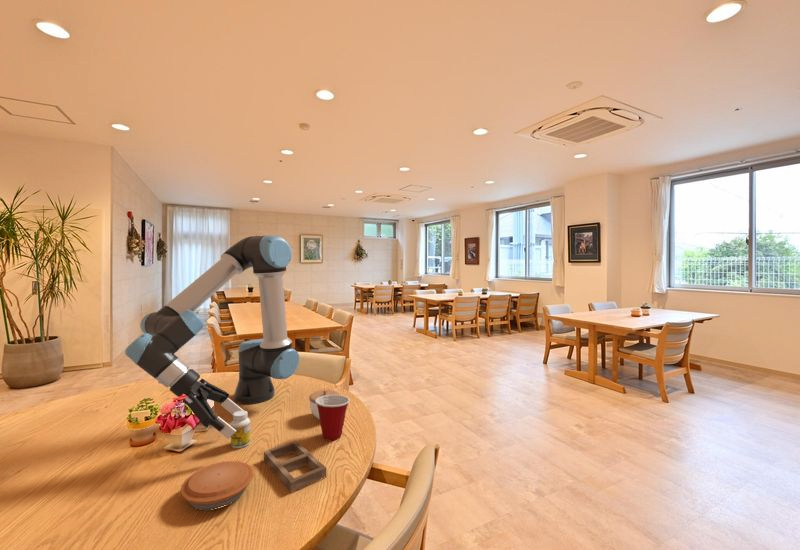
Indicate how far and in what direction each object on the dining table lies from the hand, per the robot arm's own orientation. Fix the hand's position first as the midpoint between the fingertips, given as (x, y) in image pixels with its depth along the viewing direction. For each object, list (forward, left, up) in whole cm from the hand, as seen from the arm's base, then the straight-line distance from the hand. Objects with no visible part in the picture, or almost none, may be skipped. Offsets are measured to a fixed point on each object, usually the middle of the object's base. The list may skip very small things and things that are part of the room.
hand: (236, 424), depth 106 cm
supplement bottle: (0, +1, -7) cm, 7 cm away
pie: (+20, -10, -7) cm, 24 cm away
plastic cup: (+13, +25, -7) cm, 29 cm away
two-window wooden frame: (+22, +8, -7) cm, 24 cm away
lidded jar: (-1, +30, -7) cm, 31 cm away
